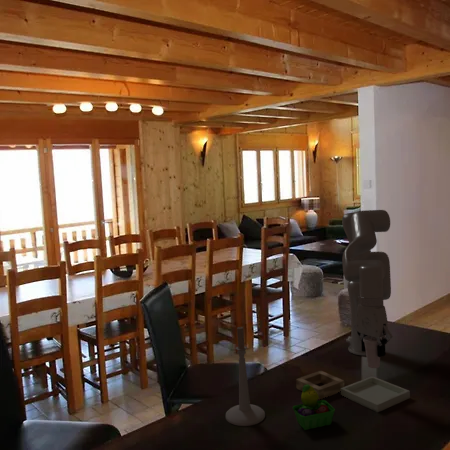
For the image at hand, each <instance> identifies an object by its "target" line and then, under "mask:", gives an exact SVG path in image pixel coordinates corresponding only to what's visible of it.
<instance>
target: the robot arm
mask: <svg viewBox="0 0 450 450" xmlns="http://www.w3.org/2000/svg"><path fill="white" fill-rule="evenodd" d="M341 220H342V221H341V223H342V228H343V230H344V232H345V235H346V238H347V240H348V245H347V246H346V247H345V248H344V251H343V253H342V263H341V264H342V271H343V272H342V273H343V277H344V279H345V281H347V282H348V283H347V293H348V297H349V299H348V300H349V306H350V308H349V309H350V327H351V328H350V329H351V331H350V333H351V336H350V335H349V336H347V338H346V340H345V341H346V342H347V343H349V345H348V349H347V351H349V353H350V354H353V355H357V356H363V357H364V356H366V350H365V343H364V342H363V338H364V337H365V336H371V337H375V338H377V341H378V344H379V345H377V356H378V357H380V358H382V357H384V356H386V345H388V343H389V341H391V340H392V339H393V337H394V336H393V335H392V333H391V331H390V329H389V326H388V325H389V324H388V323H389V322H388V316H387V315H388V314H387V309H386V306H385V305H384V304H385V303H384V301H387V300H389V299H390V298H391V294H392V282H391V280H392V279H391V263H390V256H389V255H388V254H387V253H386V252H384V251H371V250H373V249H374V248H375V247H376V245H377V242H378V239H377V234H376V233H386V232H388V231H390V228H391V217H390V214H389V213H388V211H386V210H385V209H371V210H370V209H366V210H358V211H354V212H353V211H352V212H348V213H345V214H343V216H342V218H341ZM380 337H381V338H382V341H381V338H380ZM366 357H367V356H366Z"/></svg>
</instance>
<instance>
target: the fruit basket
mask: <svg viewBox="0 0 450 450" xmlns="http://www.w3.org/2000/svg"><path fill="white" fill-rule="evenodd" d="M300 398H301V402H302V403H301V404H297V405H293V406H292V411H294V414H295V417H296V420H297V423H298V424H299V426H300V427H301V428H302V429H303V430H304V431H307V430H310V429H316V428H321V427H322V428H323V427H325V426H330V425H332V422H333V418H334V414H335V412H336V411H335V410H336V409H335V408H334V407H333V406H332V405H331V404H330V403H329V402H328V401H327V400H325V399H321V400H318V399H319V396H318V394H317V392H316V391H315V390H314V388H313V387H312V386H310V385H308V384H307V385H304V386H303V391H301V397H300Z"/></svg>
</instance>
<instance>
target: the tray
mask: <svg viewBox="0 0 450 450" xmlns="http://www.w3.org/2000/svg"><path fill="white" fill-rule="evenodd" d="M340 389H341V392H340V396H341V395H342V397H343V396H344V397H343V398H345V397H346V398H345V399H347V398H348V400H350V401H352V402H354V403H357V404H358V405H360V406H363V407H364V408H367V409H368V410H371V411H373V412H375V413H379V412H382V411H384V410H386V409H388V408H390V407H393V406H396V405H398V404H400V403H402V402H404V401H406V400H408V399H410V398H411V397H410V396H411V393H410V390H409V389H406V388H403V387H400V386H399V385H396V384H393V383H390V382H388V381H386V380H383V379H380V378H378V377H375V376H373V375H371V376H369V377H367V378H364V379H362V380H358V381H355V382H354V383H351V384H348V385H346V386H345V387H343V388H340Z"/></svg>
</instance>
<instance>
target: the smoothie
mask: <svg viewBox="0 0 450 450" xmlns="http://www.w3.org/2000/svg"><path fill="white" fill-rule="evenodd" d="M380 338H381V337H380ZM381 341H382V338H381ZM363 342H364V343H365V350H366V361H367V362H366V363H367V366H368V368H370V369H378V368H380V365H381V364H380V363H381V357H378V356H377V345H379V344H378V341H377V338H375V337H371V336H365V337H364V338H363Z"/></svg>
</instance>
